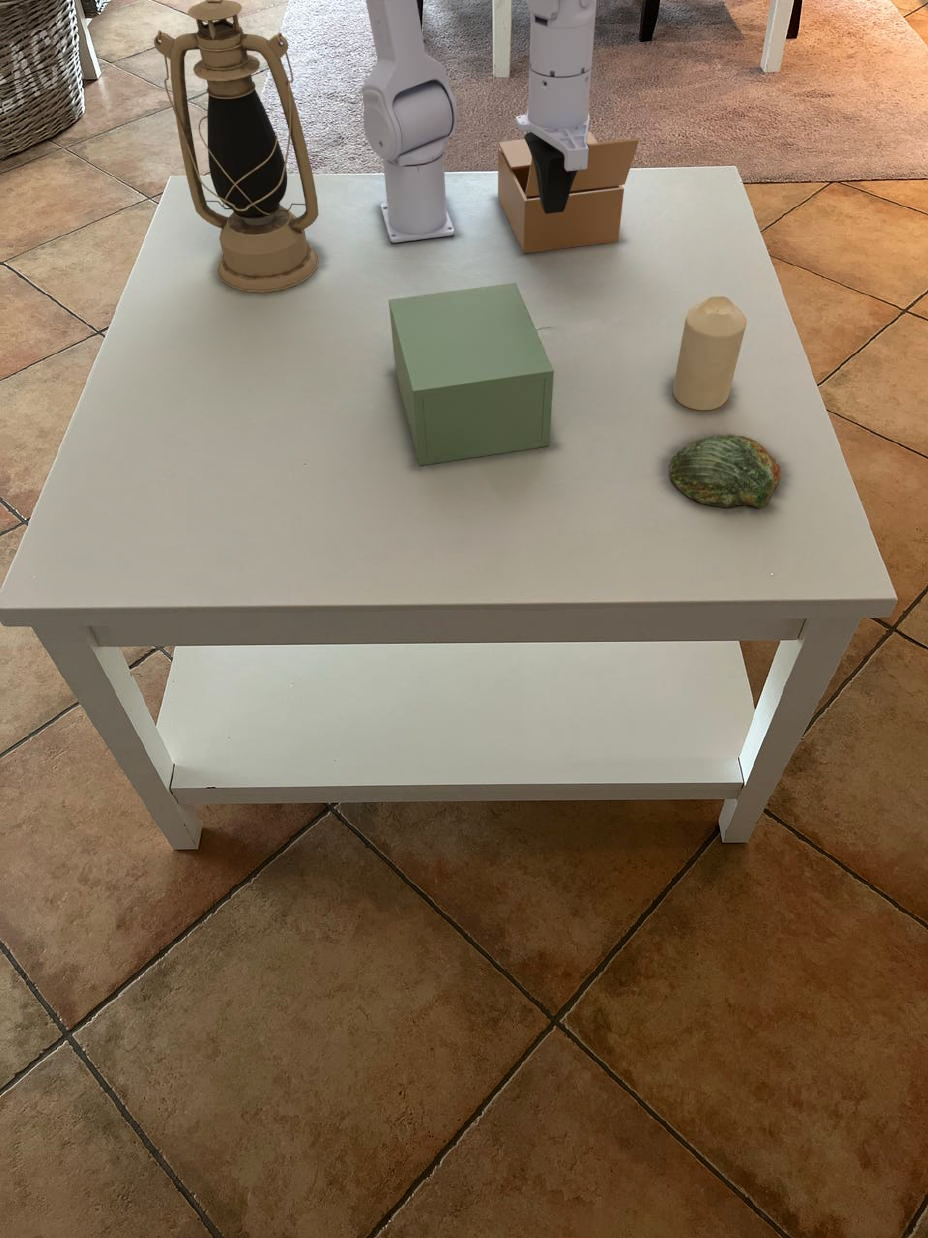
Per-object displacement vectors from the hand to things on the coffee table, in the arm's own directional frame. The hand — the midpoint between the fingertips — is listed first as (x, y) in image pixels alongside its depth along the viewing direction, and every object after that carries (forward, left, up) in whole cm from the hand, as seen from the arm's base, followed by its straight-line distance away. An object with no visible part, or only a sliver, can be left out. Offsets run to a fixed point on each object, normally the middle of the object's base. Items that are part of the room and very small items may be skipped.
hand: (553, 209), depth 94 cm
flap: (-9, +6, 0) cm, 11 cm away
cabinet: (+17, -13, -10) cm, 23 cm away
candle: (+20, +10, -11) cm, 25 cm away
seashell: (+32, +8, -11) cm, 35 cm away
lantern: (-15, -31, -11) cm, 36 cm away
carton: (-17, +5, -10) cm, 21 cm away
